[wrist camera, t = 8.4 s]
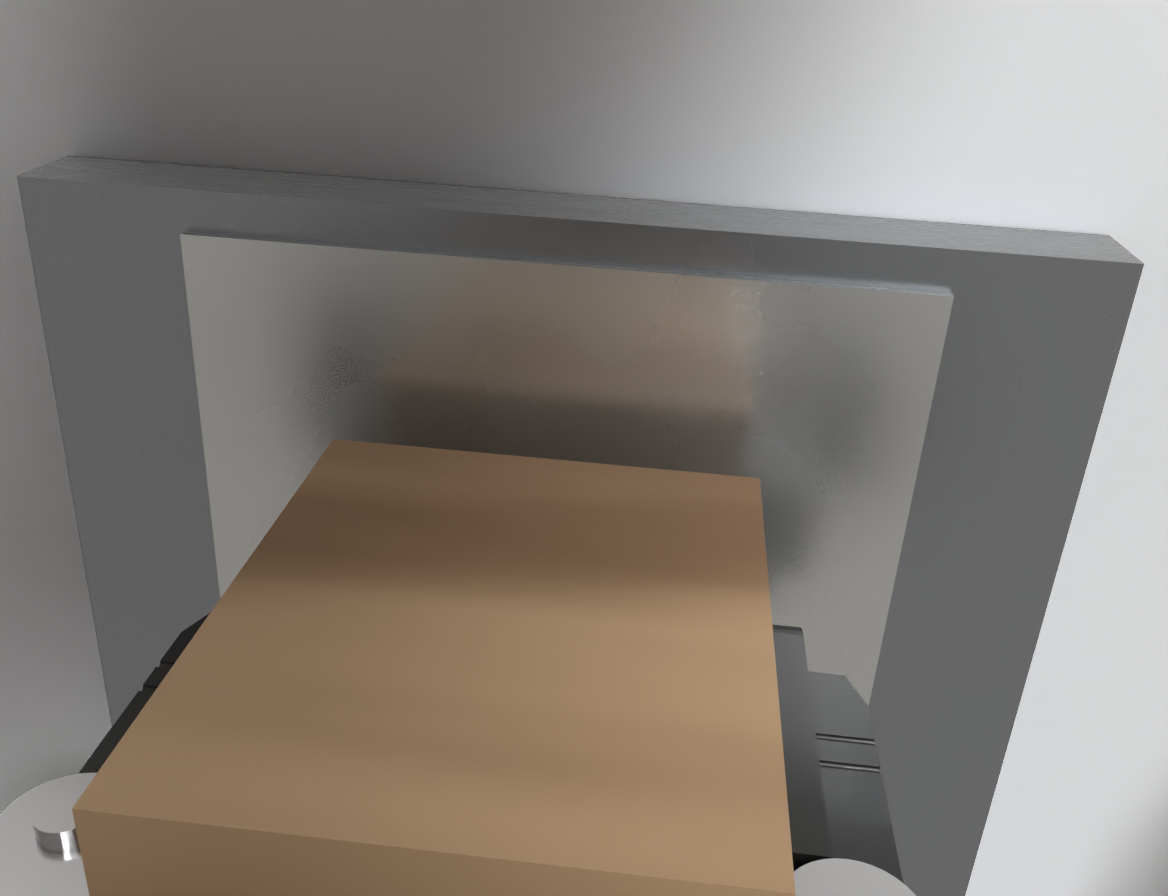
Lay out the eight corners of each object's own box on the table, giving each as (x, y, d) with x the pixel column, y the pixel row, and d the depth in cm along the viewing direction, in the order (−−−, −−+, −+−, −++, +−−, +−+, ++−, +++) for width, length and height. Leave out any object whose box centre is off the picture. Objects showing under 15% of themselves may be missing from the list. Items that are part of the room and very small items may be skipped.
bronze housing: (332, 439, 13) (72, 808, 8) (759, 477, 13) (794, 893, 7) (350, 765, 15) (156, 1230, 10) (714, 806, 15) (717, 1310, 10)
